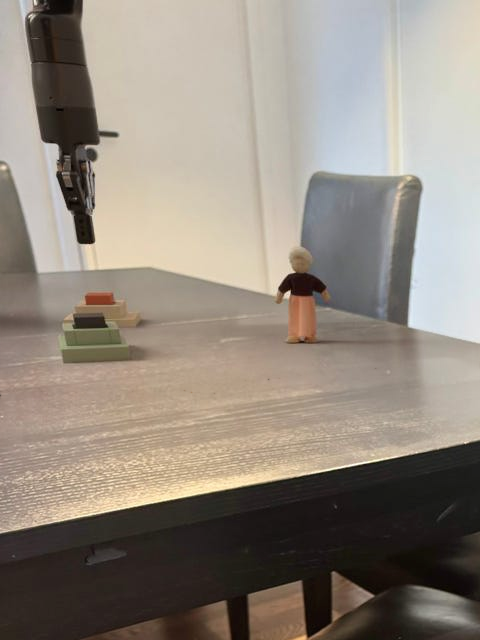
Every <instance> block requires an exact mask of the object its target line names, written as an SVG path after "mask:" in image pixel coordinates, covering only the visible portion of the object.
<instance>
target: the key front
mask: <svg viewBox="0 0 480 640" xmlns="http://www.w3.org/2000/svg"><path fill="white" fill-rule="evenodd" d="M73 319H74V325H75V329H91V328H106V323H105V317H104V315H103V313H76V314H73Z"/></svg>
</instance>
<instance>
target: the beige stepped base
mask: <svg viewBox="0 0 480 640" xmlns="http://www.w3.org/2000/svg"><path fill="white" fill-rule="evenodd" d="M114 302H115V304H114V305H86V301H85V300H80V301H79V302H78V303H77V304H76V305H74V311H72V312H71V313H69V315H67V316H66V317H65V318H63V320H62V323H74V319H73V314H76V313H103V315H104V317H105V322H111V321H115V323H116V325H117V326H118V328H119V329H120V328H122V329H123V328H136V327H137V325H138V324H139V322H140V321H141V320H142V319H141V313H140V311H128V308H127V301H126V300H114Z"/></svg>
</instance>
